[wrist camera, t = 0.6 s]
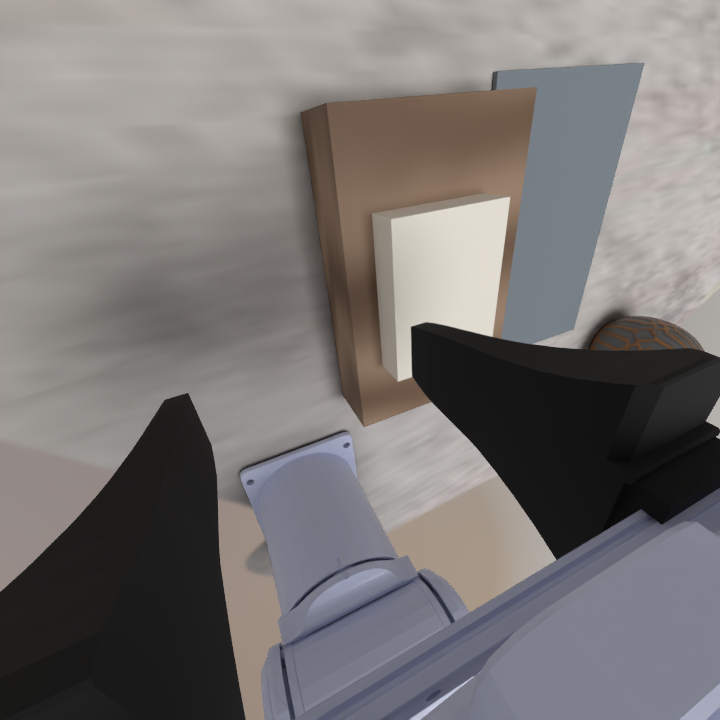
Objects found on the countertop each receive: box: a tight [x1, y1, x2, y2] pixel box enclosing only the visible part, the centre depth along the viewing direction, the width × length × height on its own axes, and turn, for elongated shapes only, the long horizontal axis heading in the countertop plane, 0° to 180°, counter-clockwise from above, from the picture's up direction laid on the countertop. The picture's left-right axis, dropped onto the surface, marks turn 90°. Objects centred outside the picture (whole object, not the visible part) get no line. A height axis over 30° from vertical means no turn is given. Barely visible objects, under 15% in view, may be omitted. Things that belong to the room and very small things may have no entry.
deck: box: [301, 87, 537, 427], centre depth 20 cm, size 16×10×4 cm, turn 6°
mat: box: [492, 63, 644, 344], centre depth 24 cm, size 18×11×1 cm, turn 6°
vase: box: [590, 316, 705, 352], centre depth 31 cm, size 7×7×9 cm
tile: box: [372, 193, 510, 382], centre depth 18 cm, size 8×6×2 cm
